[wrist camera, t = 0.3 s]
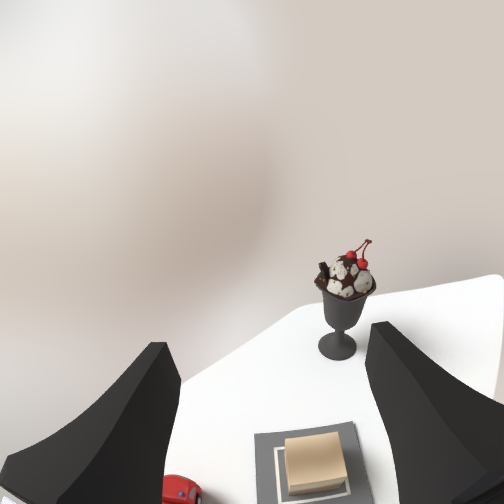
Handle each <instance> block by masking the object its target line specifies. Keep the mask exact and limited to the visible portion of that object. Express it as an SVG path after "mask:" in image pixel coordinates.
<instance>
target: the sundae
mask: <svg viewBox="0 0 504 504" xmlns="http://www.w3.org/2000/svg"><path fill="white" fill-rule="evenodd" d="M366 242H367V245H368V244H369V243H371V242H372V241H371V240H368V239H366V240H365V242H364V243H363V244H362V246H363V245H364V244H365V243H366ZM367 245H366V246H365V248H366V247H367ZM362 246H361V247H362ZM361 247H360V248H361ZM360 248H358V249H357V250H355V251H349V252H347V253H346V255H343V256H339V257H338V258H337V259H335V260H334V261H333V262H332V264H331V266H330V267H328V266H327V264H326V263H325V262H321V263H319V268H320V270H321V272H320V273H319V274H318V276H317V278H316V279H315V281H314V283H316V286H317V287H318V288H319V289H320V290H321V291H322V294H323V302H324V314H325V320H326V322H327V323H328V324H329V325H330V326H331V327H332V328H334V329H335V332H333V333H329V334H327V335H325V336H323V337H322V338H321V339H320V341H319V344H318V348H319V350H320V352H321V353H322V354H323V355H324V356H325V357H327V358H329V359H332V360H343V359H347V358H349V357H350V356H352V355H353V354H354V352H355V350H356V343H355V341H354V340H353V339H352V338H351V337H350V336H349V335H347V334H345V333H344V332H345V330H348V329H350V328H352V327H353V326H355V325H356V323H357V322H358V320H359V317H360V315H361V313H362V310H363V307H364V304H365V301H366V299H367V296H368V295H370V294H372V293H373V292H374V291H375V289H376V282H375V280H374V278H373V276H372V275H371V274H370V270H368V269H367V266H368V262H367V261H366V260H365V259H364V250H365V248H364V250H363V253H362V258H360V259H357V254H356V251H358V250H359V249H360Z"/></svg>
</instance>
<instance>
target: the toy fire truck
mask: <svg viewBox="0 0 504 504" xmlns="http://www.w3.org/2000/svg"><path fill="white" fill-rule="evenodd" d="M200 494H201V488H200V487H199V486H198V485H197V484H196V483H195V482H194V481H192V480H190V479H188V478H186V477H183V476H180V475H165V476H164V477H163V491H162V504H201V496H200Z"/></svg>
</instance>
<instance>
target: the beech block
mask: <svg viewBox="0 0 504 504" xmlns="http://www.w3.org/2000/svg"><path fill="white" fill-rule="evenodd" d="M285 464H286V474H287V484H288V495H289V496H290V495H299V494H306V493H313V492H319V491H325V490H331V489H336V488H339V487H340V486H341V484H342V483H343V482H344V480H345V479H346V477H347V472H346V467H345V462H344V458H343V453H342V449H341V444H340V440H339V435H338V431H337V432H332V433H326V434H319V435H313V436H305V437H297V438H289V439H285Z"/></svg>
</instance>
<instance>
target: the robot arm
mask: <svg viewBox="0 0 504 504" xmlns="http://www.w3.org/2000/svg"><path fill="white" fill-rule="evenodd" d="M365 367H366V371H367V375H368V379H369V383H370V387H371V390H372V393H373V396H374V398H375V401H376V404H377V407H378V409H379V412H380V415H381V417H382V420H383V423H384V426H385V429H386V431H387V434H388V437H389V441H390V444H391V449H392V454H393V459H394V464H395V470H396V476H397V483H398V491H399V502H400V504H504V405H503V404H501V403H499V402H496V401H494V400H492V399H490V398H488V397H486V396H485V395H483V394H481V393H479V392H477V391H475V390H474V389H472V388H470V387H469V386H467V385H466V384H464V383H463V382H461V381H459V380H458V379H456V378H455V377H454V376H452V375H451V374H449V373H448V372H447V371H445V370H444V369H443V368H442V367H440V366H439V365H438V364H436V363H435V362H434V361H433V360H431V359H430V358H429V357H428V356H427V355H425V354H424V353H423V352H422V351H421V350H420V349H418V348H417V347H416V346H415V345H414V344H413V343H412V342H410V341H409V340H408V339H407V338H406V337H405V336H404V335H403V334H402V333H400V332H399V331H398V330H397V329H396V328H395V327H394V326H393V325H392V324H390V323H389V322H388V321H385V322H379V323H373V324H372V325H371V332H370V338H369V344H368V349H367V355H366V360H365ZM180 387H181V378H180V376H179V374H178V371H177V368H176V366H175V363H174V361H173V358H172V356H171V353H170V351H169V348H168V345H167V343H166V342H151V343H150V344H149V345H148V346H147V347H146V348H145V349H144V350H143V351H142V353H141V354H140V355H139V356H138V357H137V358H136V359H135V361H134V362H133V363H132V364H131V365H130V366H129V367H128V368H127V370H126V371H125V372H124V373H123V374H122V375H121V376H120V377H119V378H118V379H117V381H116V382H115V383H114V384H113V385H112V386H111V387H110V388H109V389H108V390H107V391H106V392H105V393H104V394H103V395H102V396H101V397H100V398H99V399H98V400H97V401H96V402H95V403H94V404H92V405H91V406H90V407H89V408H88V409H87V410H86V411H84V412H83V413H82V414H81V415H79V416H78V417H77V418H76V419H75V420H73V421H72V422H70V423H69V424H67V425H66V426H64V427H63V428H62V429H60V430H59V431H57V432H56V433H54V434H53V435H51V436H49V437H48V438H46V439H44V440H42V441H41V442H39V443H37V444H35V445H33V446H31V447H28V448H26V449H24V450H21V451H19V452H17V453H14V454H12V455H9V456H8V457H7V459H6V461H5V463H4V465H3V468H2V470H1V473H0V486H1V487H3V488H4V489H5V490H7V491H8V492H10V493H11V494H12V495H14V496H15V497H17V498H18V499H20V500H22V501H23V502H25V503H27V504H162V491H163V477H164V467H165V459H166V454H167V449H168V445H169V441H170V437H171V433H172V429H173V425H174V421H175V417H176V412H177V408H178V404H179V396H180ZM1 504H16V503H15V502H13V501H12V500H10V499H9V498H7V497H3V500H2V502H1Z"/></svg>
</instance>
